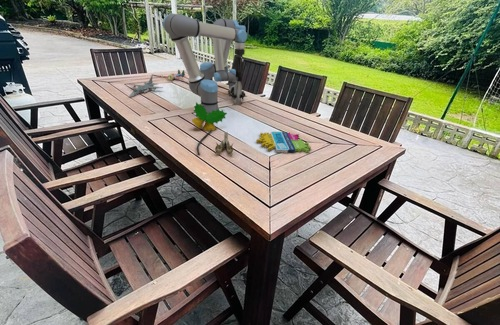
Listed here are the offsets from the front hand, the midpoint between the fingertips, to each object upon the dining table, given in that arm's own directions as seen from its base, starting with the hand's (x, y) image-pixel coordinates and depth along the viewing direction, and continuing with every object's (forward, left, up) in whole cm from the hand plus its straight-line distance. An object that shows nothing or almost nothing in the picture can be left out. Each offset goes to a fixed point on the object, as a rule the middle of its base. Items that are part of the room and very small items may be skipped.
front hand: (238, 80), depth 206 cm
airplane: (+41, +74, -19) cm, 87 cm away
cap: (0, 0, +2) cm, 2 cm away
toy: (+95, +46, -19) cm, 107 cm away
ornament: (-51, +30, -19) cm, 62 cm away
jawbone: (-83, +27, -19) cm, 89 cm away
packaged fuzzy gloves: (-78, -8, -19) cm, 80 cm away
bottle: (0, 0, -19) cm, 19 cm away
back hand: (-5, +1, -12) cm, 13 cm away
